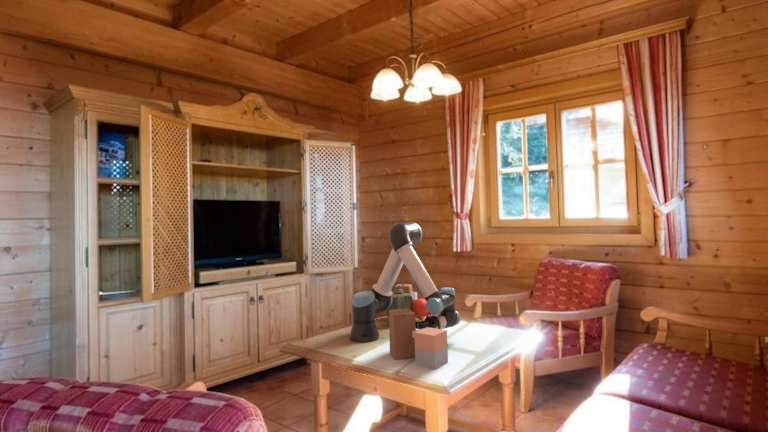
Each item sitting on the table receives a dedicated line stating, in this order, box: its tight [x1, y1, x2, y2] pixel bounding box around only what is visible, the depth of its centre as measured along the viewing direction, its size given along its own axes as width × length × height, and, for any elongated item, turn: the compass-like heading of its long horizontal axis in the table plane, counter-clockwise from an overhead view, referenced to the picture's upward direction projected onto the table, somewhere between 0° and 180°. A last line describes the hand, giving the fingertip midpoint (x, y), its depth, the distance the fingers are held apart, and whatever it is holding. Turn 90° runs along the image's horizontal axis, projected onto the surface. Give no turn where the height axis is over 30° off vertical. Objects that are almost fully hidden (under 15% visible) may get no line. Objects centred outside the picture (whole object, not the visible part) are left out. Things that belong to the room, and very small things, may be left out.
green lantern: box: [393, 283, 414, 299], centre depth 275 cm, size 10×10×20 cm
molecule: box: [412, 298, 441, 321], centre depth 260 cm, size 25×11×16 cm, turn 121°
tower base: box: [414, 346, 449, 370], centre depth 191 cm, size 10×10×7 cm
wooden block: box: [388, 309, 417, 360], centre depth 203 cm, size 10×10×20 cm
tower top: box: [414, 327, 448, 353], centre depth 191 cm, size 10×10×7 cm
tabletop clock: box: [385, 280, 414, 318], centre depth 260 cm, size 14×9×25 cm, turn 126°
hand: (402, 331), depth 203 cm, fingers open, 13 cm apart
